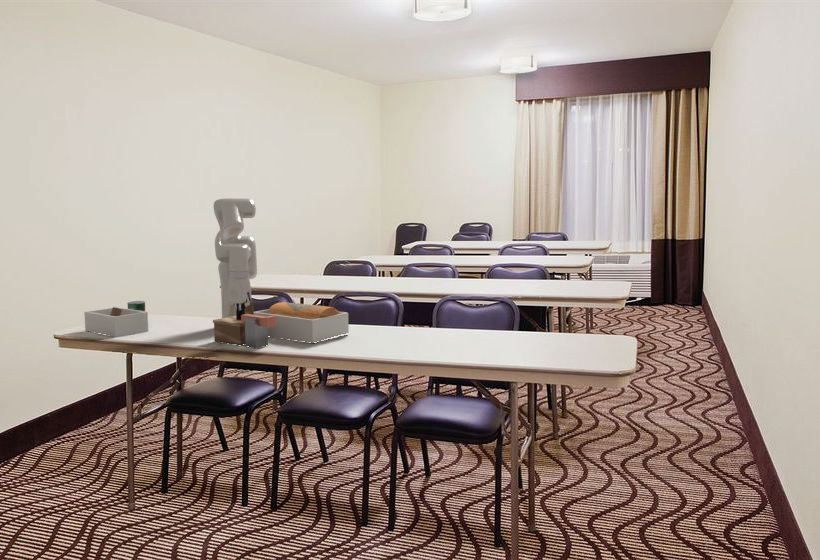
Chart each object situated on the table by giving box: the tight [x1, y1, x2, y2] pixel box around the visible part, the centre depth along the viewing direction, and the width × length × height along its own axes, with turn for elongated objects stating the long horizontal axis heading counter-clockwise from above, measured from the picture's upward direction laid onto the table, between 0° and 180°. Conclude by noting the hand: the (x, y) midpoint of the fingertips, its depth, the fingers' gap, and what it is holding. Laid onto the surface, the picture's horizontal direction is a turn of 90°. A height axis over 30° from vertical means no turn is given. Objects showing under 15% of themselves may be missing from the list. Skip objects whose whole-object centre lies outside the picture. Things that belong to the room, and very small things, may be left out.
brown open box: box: [213, 323, 246, 346], centre depth 286 cm, size 14×16×8 cm
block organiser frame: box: [83, 306, 149, 338], centre depth 307 cm, size 16×24×9 cm, turn 55°
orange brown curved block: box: [267, 301, 341, 320], centre depth 298 cm, size 30×16×14 cm, turn 57°
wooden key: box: [241, 314, 276, 328], centre depth 274 cm, size 4×16×4 cm, turn 55°
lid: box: [212, 300, 255, 327], centre depth 285 cm, size 15×17×8 cm
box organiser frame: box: [254, 308, 350, 343], centre depth 299 cm, size 23×36×10 cm, turn 55°
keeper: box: [245, 317, 269, 349], centre depth 275 cm, size 7×6×12 cm
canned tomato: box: [126, 300, 146, 312], centre depth 323 cm, size 8×8×11 cm
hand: (240, 319), depth 280 cm, fingers closed
